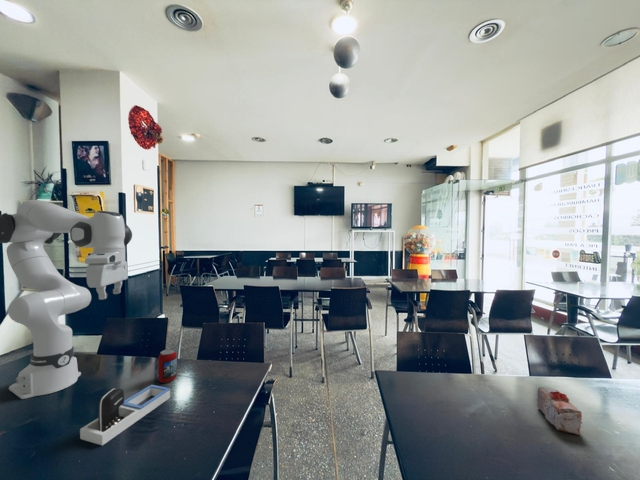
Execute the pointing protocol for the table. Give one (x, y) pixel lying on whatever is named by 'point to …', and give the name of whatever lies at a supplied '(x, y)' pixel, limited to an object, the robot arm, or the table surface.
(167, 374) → the beverage can
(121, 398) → the battery charger
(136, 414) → the tray
